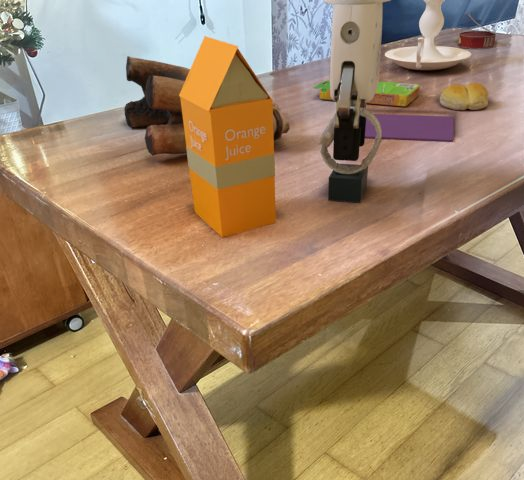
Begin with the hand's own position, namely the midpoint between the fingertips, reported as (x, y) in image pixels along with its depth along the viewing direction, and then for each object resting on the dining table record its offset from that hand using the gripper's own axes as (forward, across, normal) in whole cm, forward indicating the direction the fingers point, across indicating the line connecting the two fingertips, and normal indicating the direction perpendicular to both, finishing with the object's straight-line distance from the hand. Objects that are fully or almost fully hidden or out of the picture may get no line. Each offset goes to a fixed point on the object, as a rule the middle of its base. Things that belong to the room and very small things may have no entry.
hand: (349, 150), depth 71 cm
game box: (+6, +52, +4) cm, 53 cm away
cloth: (+6, +32, -4) cm, 33 cm away
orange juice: (+6, -10, +13) cm, 18 cm away
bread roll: (+6, +48, -16) cm, 51 cm away
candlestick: (+6, +81, -7) cm, 82 cm away
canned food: (+6, +114, -20) cm, 116 cm away
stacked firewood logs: (+6, +23, +29) cm, 38 cm away
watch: (+6, 0, 0) cm, 6 cm away
